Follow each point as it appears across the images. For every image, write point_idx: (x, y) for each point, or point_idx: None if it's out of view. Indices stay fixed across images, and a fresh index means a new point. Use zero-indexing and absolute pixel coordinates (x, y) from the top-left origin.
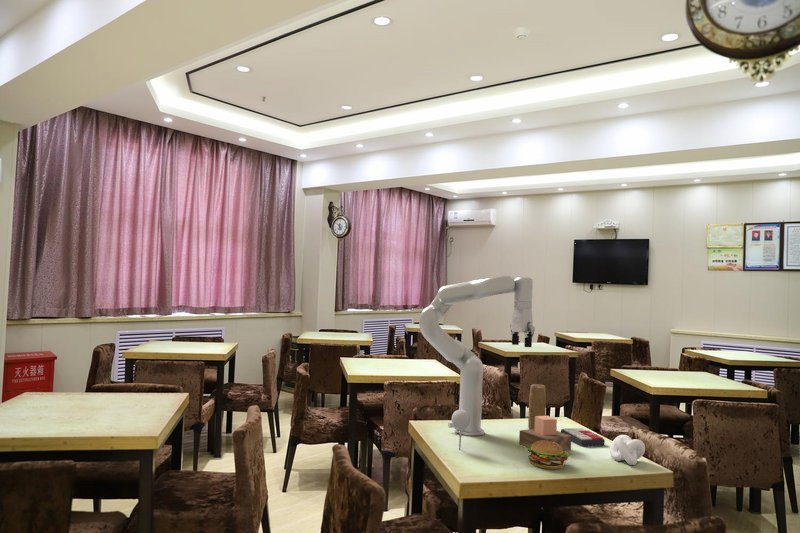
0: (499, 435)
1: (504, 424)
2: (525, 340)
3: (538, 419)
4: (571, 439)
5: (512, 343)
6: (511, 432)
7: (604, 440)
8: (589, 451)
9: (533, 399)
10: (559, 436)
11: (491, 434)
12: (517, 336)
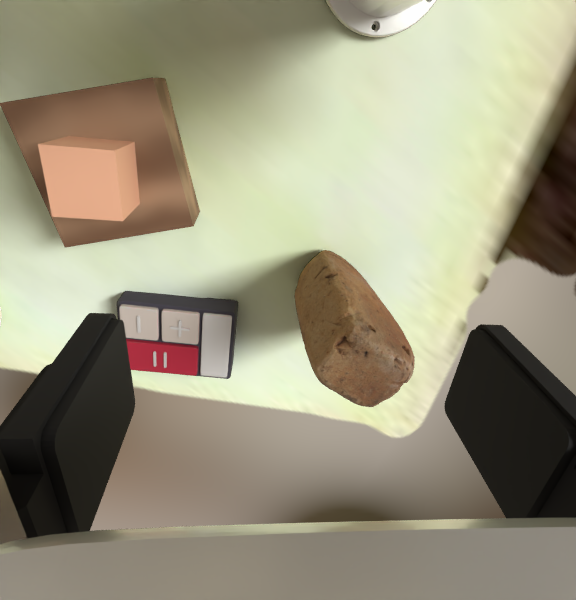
0: (300, 83)
1: (426, 211)
2: (37, 387)
3: (86, 146)
4: (176, 299)
5: (489, 332)
6: (325, 165)
7: None
8: (71, 279)
9: (333, 305)
10: None
11: (322, 54)
12: (521, 501)
